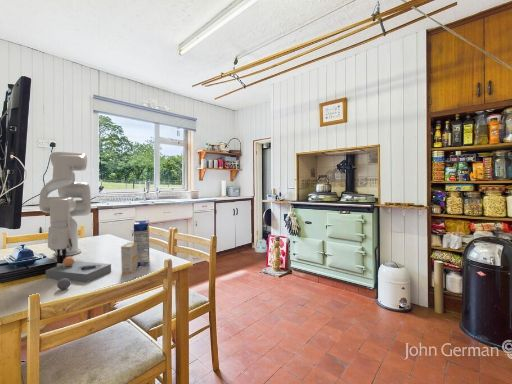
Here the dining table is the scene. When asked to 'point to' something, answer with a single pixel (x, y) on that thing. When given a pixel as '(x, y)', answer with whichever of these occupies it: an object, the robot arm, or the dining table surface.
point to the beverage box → (142, 242)
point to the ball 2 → (63, 283)
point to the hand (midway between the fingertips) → (61, 262)
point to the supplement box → (129, 257)
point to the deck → (79, 271)
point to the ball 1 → (68, 261)
